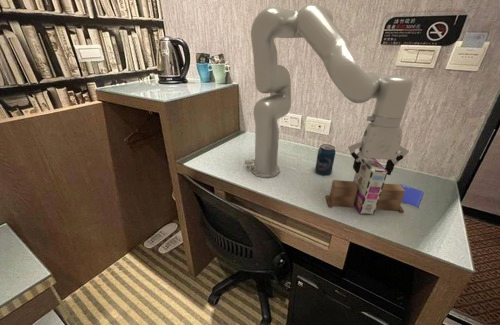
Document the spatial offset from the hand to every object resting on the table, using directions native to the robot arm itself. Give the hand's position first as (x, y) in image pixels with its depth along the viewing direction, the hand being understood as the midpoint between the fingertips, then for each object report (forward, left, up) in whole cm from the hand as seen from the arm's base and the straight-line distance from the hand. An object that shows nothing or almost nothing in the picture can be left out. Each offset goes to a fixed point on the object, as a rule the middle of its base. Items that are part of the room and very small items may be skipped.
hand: (371, 172), depth 77 cm
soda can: (-10, +22, -13) cm, 28 cm away
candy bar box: (0, 0, -13) cm, 13 cm away
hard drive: (+18, +7, -14) cm, 24 cm away
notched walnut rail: (0, 0, -13) cm, 13 cm away
